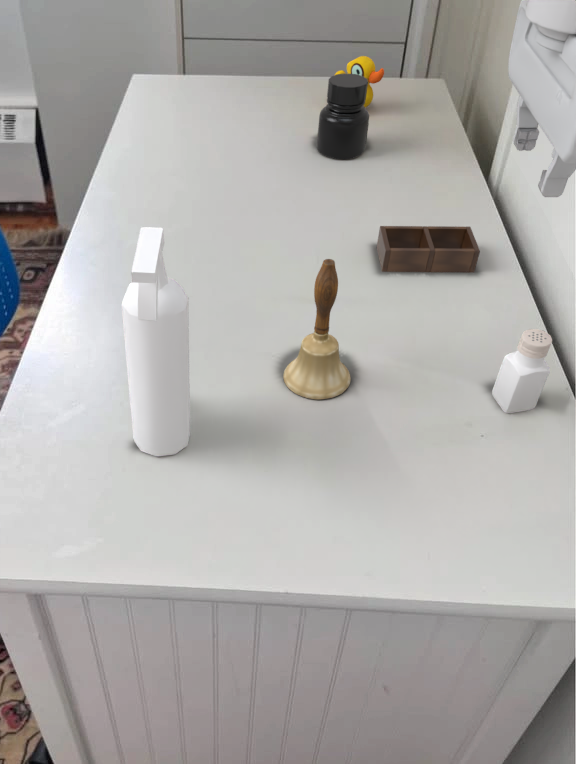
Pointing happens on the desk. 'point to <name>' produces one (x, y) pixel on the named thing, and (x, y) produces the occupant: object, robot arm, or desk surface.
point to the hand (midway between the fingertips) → (535, 169)
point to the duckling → (365, 74)
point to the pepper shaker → (523, 373)
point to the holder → (427, 249)
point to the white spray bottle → (157, 350)
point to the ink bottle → (344, 118)
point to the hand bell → (319, 347)
